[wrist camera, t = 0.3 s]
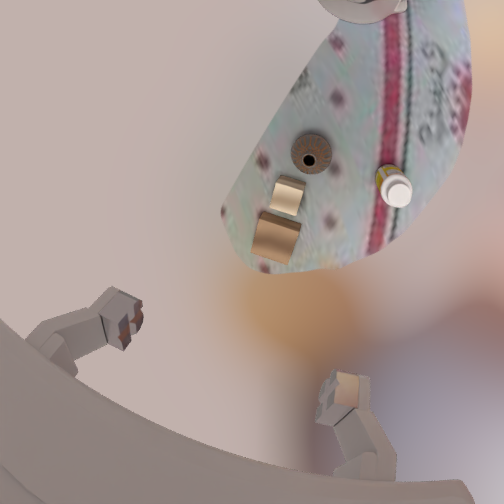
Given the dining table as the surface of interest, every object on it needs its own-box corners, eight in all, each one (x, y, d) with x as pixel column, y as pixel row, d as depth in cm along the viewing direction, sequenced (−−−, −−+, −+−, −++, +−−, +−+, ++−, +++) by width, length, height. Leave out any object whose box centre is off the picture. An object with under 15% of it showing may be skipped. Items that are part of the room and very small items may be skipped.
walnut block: (264, 210, 59) (259, 218, 56) (301, 223, 58) (299, 232, 55) (255, 243, 63) (250, 252, 60) (290, 255, 63) (287, 265, 59)
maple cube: (280, 174, 54) (275, 182, 50) (306, 182, 53) (303, 191, 49) (274, 198, 57) (269, 207, 53) (299, 205, 56) (295, 215, 52)
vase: (286, 146, 51) (277, 155, 44) (316, 124, 47) (312, 130, 40) (309, 175, 52) (305, 189, 45) (339, 155, 49) (340, 166, 42)
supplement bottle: (386, 197, 50) (395, 219, 42) (368, 175, 49) (375, 193, 41) (408, 180, 47) (422, 199, 39) (391, 157, 46) (403, 171, 38)
